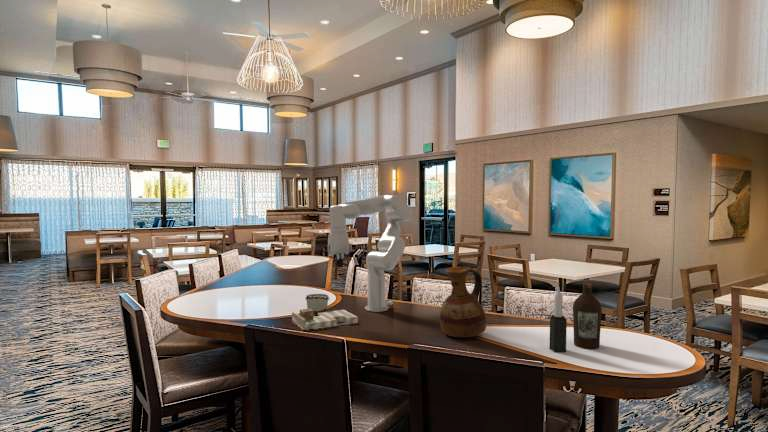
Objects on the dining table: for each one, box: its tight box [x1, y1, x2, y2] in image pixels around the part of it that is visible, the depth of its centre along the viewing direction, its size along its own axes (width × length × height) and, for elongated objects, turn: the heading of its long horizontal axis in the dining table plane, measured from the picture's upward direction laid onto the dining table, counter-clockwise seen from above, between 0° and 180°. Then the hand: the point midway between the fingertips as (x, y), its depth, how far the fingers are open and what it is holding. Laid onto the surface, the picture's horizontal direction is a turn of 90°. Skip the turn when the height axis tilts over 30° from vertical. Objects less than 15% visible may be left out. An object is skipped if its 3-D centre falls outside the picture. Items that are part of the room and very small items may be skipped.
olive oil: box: [572, 283, 603, 350], centre depth 173 cm, size 11×11×25 cm
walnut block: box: [299, 308, 314, 320], centre depth 201 cm, size 5×5×4 cm
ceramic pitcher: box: [439, 266, 487, 338], centre depth 187 cm, size 20×20×30 cm
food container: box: [305, 293, 330, 316], centre depth 222 cm, size 12×6×10 cm, turn 84°
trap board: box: [291, 309, 359, 331], centre depth 205 cm, size 27×16×5 cm, turn 120°
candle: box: [549, 286, 568, 353], centre depth 167 cm, size 5×5×25 cm
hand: (339, 266), depth 213 cm, fingers closed
